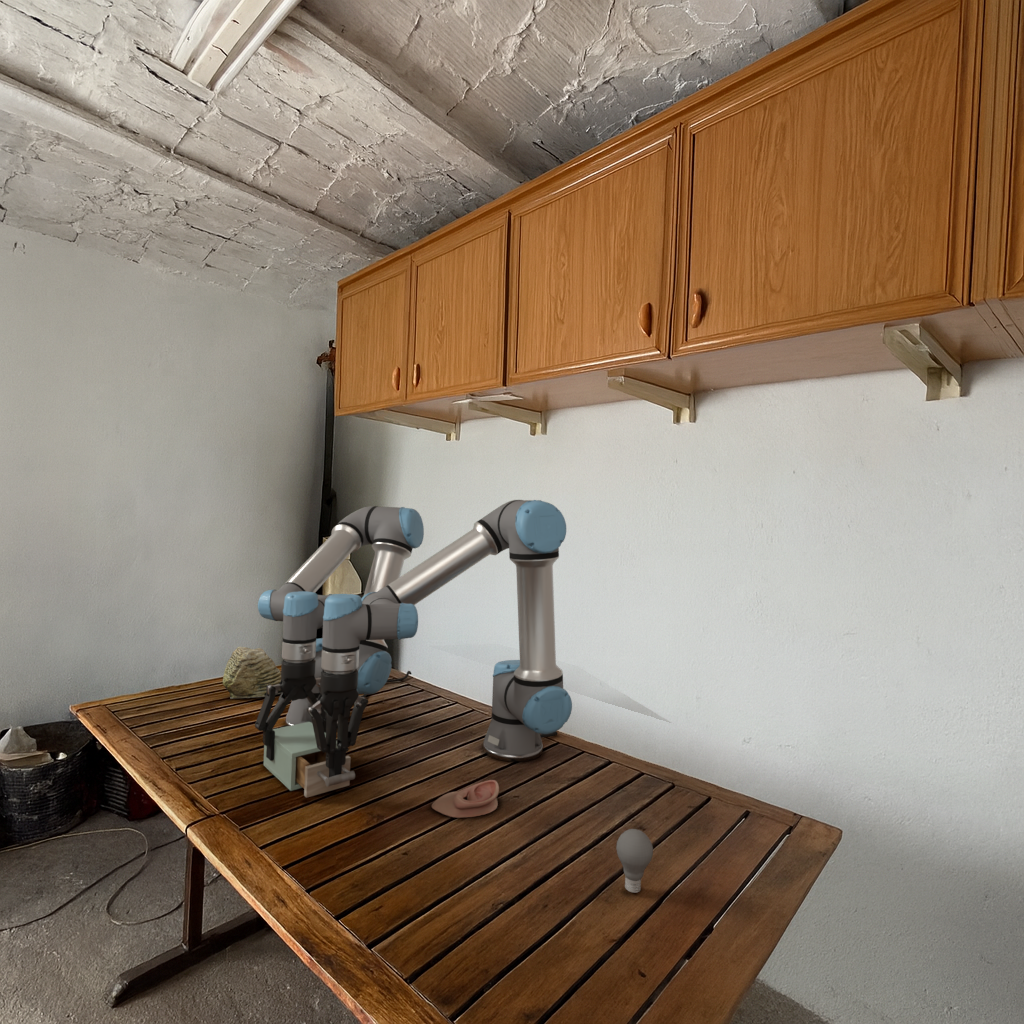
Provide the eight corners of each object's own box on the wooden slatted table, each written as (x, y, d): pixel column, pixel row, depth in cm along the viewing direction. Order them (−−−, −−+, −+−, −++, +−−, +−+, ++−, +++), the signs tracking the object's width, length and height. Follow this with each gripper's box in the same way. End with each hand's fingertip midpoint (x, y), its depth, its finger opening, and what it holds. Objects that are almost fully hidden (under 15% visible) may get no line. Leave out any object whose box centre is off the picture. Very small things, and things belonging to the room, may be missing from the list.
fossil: (218, 695, 195) (220, 647, 195) (278, 685, 208) (279, 640, 207) (228, 703, 189) (230, 653, 188) (289, 692, 201) (290, 645, 201)
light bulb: (610, 879, 108) (613, 822, 108) (644, 879, 109) (647, 822, 109) (619, 902, 102) (622, 840, 102) (655, 901, 103) (658, 840, 103)
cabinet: (338, 778, 143) (339, 742, 143) (290, 791, 136) (292, 753, 136) (308, 754, 155) (309, 721, 155) (263, 765, 148) (264, 730, 148)
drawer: (362, 795, 133) (363, 766, 133) (318, 809, 127) (319, 778, 126) (320, 762, 149) (321, 736, 148) (279, 772, 142) (280, 745, 142)
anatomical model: (427, 794, 128) (444, 771, 139) (426, 813, 128) (443, 788, 139) (490, 803, 125) (503, 779, 137) (489, 823, 126) (502, 797, 137)
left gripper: (253, 669, 137) (249, 770, 137) (352, 656, 152) (348, 746, 153) (241, 662, 142) (237, 758, 143) (338, 649, 158) (334, 737, 158)
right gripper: (317, 678, 124) (312, 797, 125) (376, 669, 133) (371, 780, 134) (302, 669, 130) (297, 782, 131) (360, 661, 139) (355, 767, 139)
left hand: (295, 752), depth 148 cm, fingers closed on cabinet, 11 cm apart
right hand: (334, 781), depth 132 cm, fingers closed
